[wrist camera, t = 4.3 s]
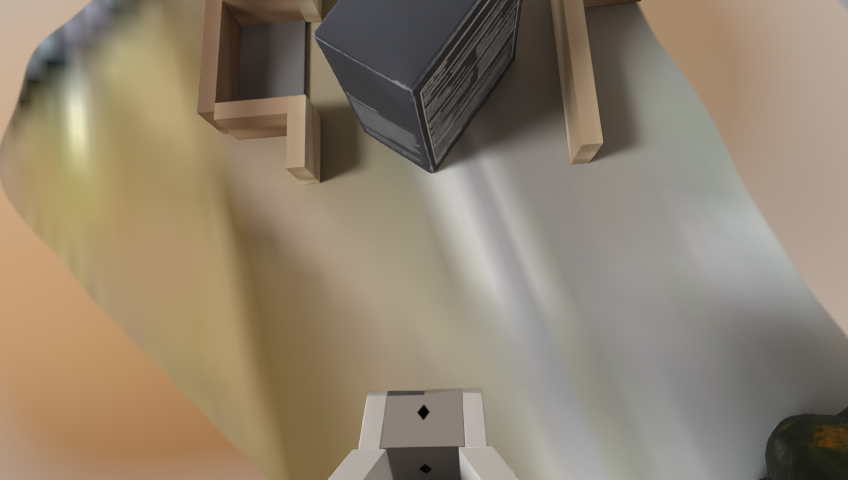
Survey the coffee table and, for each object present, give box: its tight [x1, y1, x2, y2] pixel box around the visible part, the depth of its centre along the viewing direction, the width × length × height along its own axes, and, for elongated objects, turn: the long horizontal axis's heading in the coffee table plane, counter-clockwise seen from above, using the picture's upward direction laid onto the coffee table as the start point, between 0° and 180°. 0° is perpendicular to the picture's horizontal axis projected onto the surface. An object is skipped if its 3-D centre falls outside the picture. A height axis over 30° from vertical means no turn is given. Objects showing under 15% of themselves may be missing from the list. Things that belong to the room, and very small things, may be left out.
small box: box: [313, 0, 523, 173], centre depth 25 cm, size 11×6×10 cm, turn 146°
